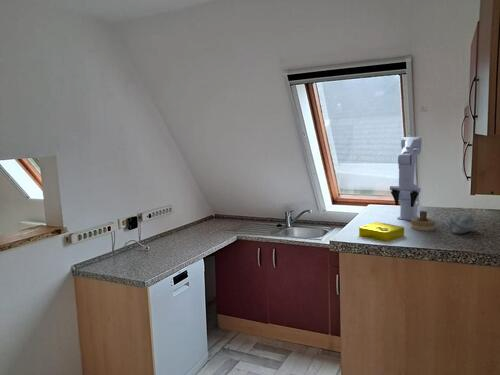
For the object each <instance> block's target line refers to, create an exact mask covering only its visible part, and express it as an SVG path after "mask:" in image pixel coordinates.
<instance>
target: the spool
mask: <svg viewBox="0 0 500 375" xmlns="http://www.w3.org/2000/svg"><path fill="white" fill-rule="evenodd" d="M448 226H449V229H450V231H451V232H452V233H453V234H456V235H462V234H466V233H469V232H470V231H472V230H473V229H474V226H475V220H474V218H473V216H472V215H471V214H469V213H458V214H454V215H453V216H451V218H450V219H449V224H448Z"/></svg>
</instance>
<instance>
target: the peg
mask: <svg viewBox="0 0 500 375" xmlns="http://www.w3.org/2000/svg"><path fill="white" fill-rule="evenodd" d="M427 214H428V211H426V210H420V211H419V218H420V221H427V218H428V215H427Z"/></svg>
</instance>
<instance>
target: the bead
mask: <svg viewBox="0 0 500 375" xmlns="http://www.w3.org/2000/svg"><path fill="white" fill-rule="evenodd" d="M410 226H411V227H410V228H411V229H413V230H415V231H416V230H417V231H424V232H426V231H427V232H428V231H434V230H435V229H436V220H435V218H434V219H433V218H430V217H429V218H428V217H427V221H420V217H419V218H413V219H412V220H411V225H410Z"/></svg>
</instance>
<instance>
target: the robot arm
mask: <svg viewBox="0 0 500 375" xmlns="http://www.w3.org/2000/svg"><path fill="white" fill-rule="evenodd" d="M422 140H423V139H422V137H421V136H406V137H405V136H403V137H401V142H400V147H401V151H400V152H401V153H400V154H398V156H397V165H398V186H397V185H396V186H395V185H390V186H389V191H390V194H391V195H392V197H393V200H394V206H399V204H400V208H399V209H400V210H399V214H400V216H399V217H397V219H398V220H405V221H412V219H413V218H420V216H418V204H417V202H418V201H419V194H420V193H421V191H422V190H421V189H422V188H421V187H418V185H416V184H415V183H414V179H415V170H416V169H415V168H416V159H417V156H418V155H420V154H421V152H422V142H423V141H422Z"/></svg>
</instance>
